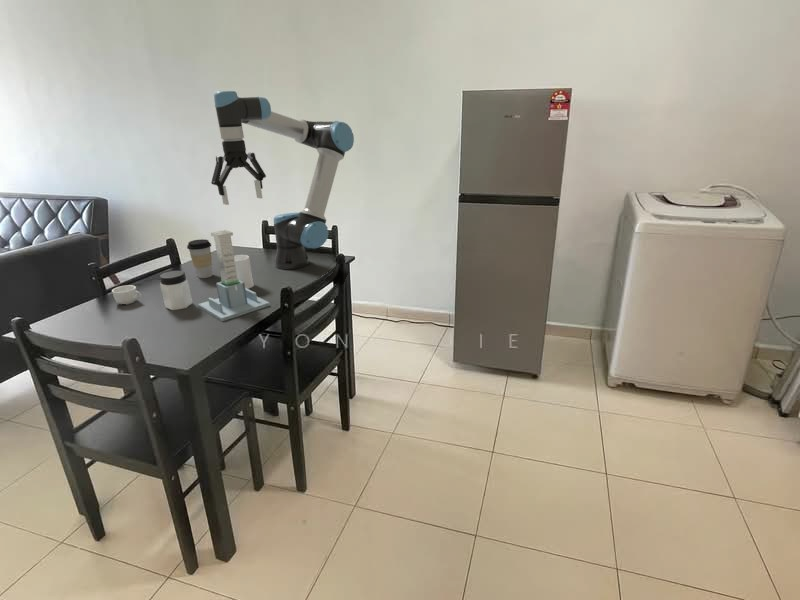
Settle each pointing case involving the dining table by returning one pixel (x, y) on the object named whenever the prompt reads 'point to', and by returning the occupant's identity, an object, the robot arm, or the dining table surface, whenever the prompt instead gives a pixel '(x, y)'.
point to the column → (225, 257)
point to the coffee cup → (201, 257)
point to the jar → (175, 290)
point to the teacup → (125, 294)
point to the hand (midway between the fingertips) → (243, 201)
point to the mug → (244, 270)
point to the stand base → (232, 302)
